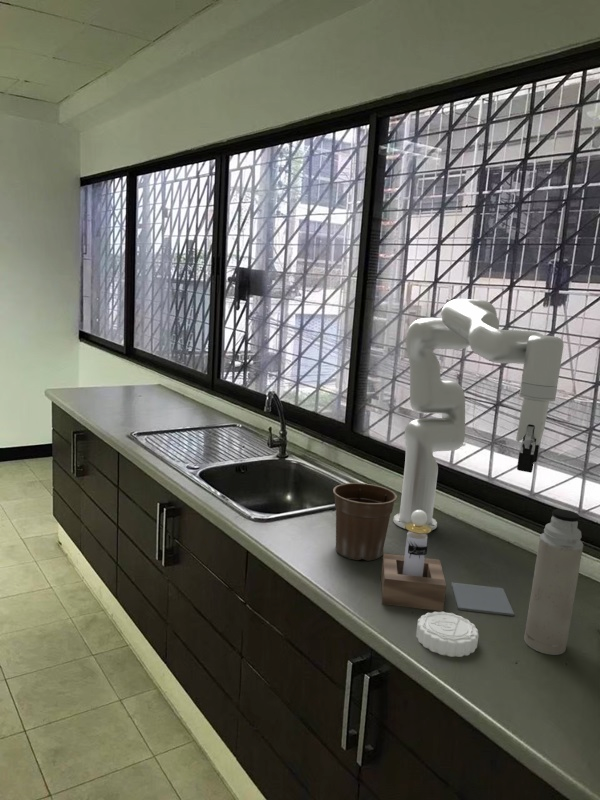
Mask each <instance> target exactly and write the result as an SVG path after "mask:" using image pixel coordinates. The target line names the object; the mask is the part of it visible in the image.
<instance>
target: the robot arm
mask: <svg viewBox="0 0 600 800" xmlns="http://www.w3.org/2000/svg"><path fill="white" fill-rule="evenodd" d="M440 317H441V318H439V317H423V318H417V320H414V321H413V322H412V323H411V324H410V325H409V327H408V329H407V332H406V336H405V337H406V338H405V339H406V340H405V346H406V347H405V348H406V351H407V357H408V362H409V399H410V401H409V403H410V407H411V409H412V410H413V411H414V412H416V413H419V414H441V418H440V417H437V418H436V417H429V418H428V417H425V418H424V417H422V418H416V419H413V420H411V421H409V423H407V425H406V426H405V429H404V447H405V459H404V460H405V461H404V470H403V477H402V478H403V481H402V488H401V497H400V507H399V513H397V514H395V515H394V516H393V522H394V524H395V525H396V526H397V527H399V528H401V529H404V530H406V529H405V524H406V523H408V522H412V521H411V515H412V513H413V512H414V511H415V510H422V511H424V512H425V513H426V514H427V522H426V524H427V525H429V526H430V527H431V532H432V531H433V530H435V529H437V527H438V522H437V520H436V519H435V518H433V516H434V506H435V500H436V499H435V498H436V489H437V481H438V474H439V466H438V462H437V461H436V459H435V457H434V453H436V452H452V451H456V450H459V449H461V448H462V446H463V445H464V442H465V437H466V398H465V397H466V395H465V392H464V390H463V386H461V385H460V384H459V383H458V382H457V381H454V380H442V379H441V364H440V361H439V359H438V357H437V355H436V354H435V352H434V351H433V349H434V350H435V349H436V350H455V351H458V350H462V349H466V348H468V347H470V349H471V350H472V352H473V353H475V354H476V355H478V356H479V357H481V358H483V359H485V360H487V361H489V362H492V363H495V364H518V365H523V369H522V374H521V382H520V388H519V389H520V390H519V397H520V398H523V400H522V405H521V408H520V416H519V421H518V426H517V433H516V439H515V441H516V442H517V443H519V442H520V441H521V445H520V449H519V450H520V451H519V453H518V460H517V465H516V470H517V471H520V472H524V473H532V472H533V470H534V463H536V462H537V461H538V456H539V455H538V454H539V448H540V445H539V444H540V442H541V440H542V439H543V434H544V431H545V426H546V424H547V423H546V422H547V417H548V410H549V406H550V405H549V404H550V402H555V401H556V397H557V392H558V391H557V390H558V384H559V380H560V379H559V378H560V377H559V376H560V370H561V364H562V360H563V359H562V358H563V352H564V341H563V339H562V338H561V337H558V336H553V335H547V334H542V333H540V332H536V331H532V330H531V331H529V330H520V329H519V330H516V329H515V330H513V329H500V322H499V319H498V316H497V311H496V308H495V306H494V305H493V304H492V303H491V302H489V301H487V300H481V299H469V298H455V299H452V300H450V301H448V302H446V303H445V304H444V305H443V306H442V308H441V313H440Z"/></svg>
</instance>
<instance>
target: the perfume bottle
mask: <svg viewBox="0 0 600 800" xmlns="http://www.w3.org/2000/svg"><path fill="white" fill-rule="evenodd" d="M411 521H412V522H408V523H406V524H405V529H404V530H406V531H407V533H406V539H405V549H404V555H403V556H404V565H403V574H402V575H409V576H418V577H423V570H424V562H425V558H426V555H427V554H428V545H427V543H428V534H430V533H431V532H432V531H431V527H430V526H429V525H427V524H426V522H427V514H426V513H425V512H424V511H422V510H415V511H414V512H413V513H412V515H411Z"/></svg>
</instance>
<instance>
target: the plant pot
mask: <svg viewBox="0 0 600 800" xmlns="http://www.w3.org/2000/svg"><path fill="white" fill-rule="evenodd" d="M332 490H333V491H332V493H333V495H334V506H335V549H336V552H337V553H338V554H339V555H341V556H342V557H345V558H346V559H351V560H354V561H360V560H365V561H367V562H370V561H375V560H378V559H379V558H381V557H383V553H384V547H385V542H386V537H387V533H388V527H389V523H390V518H391V514H392V513H393V509H394V506H395V501H396V500H397V499H398V496H397V493H395V492H394V491H393V490H391V489H389V488H387V487H383V486H380V485H376V484H370V483H365V482H348V483H346V482H345V483H340V484H339V485H335V487H333V489H332Z"/></svg>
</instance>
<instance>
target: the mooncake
mask: <svg viewBox="0 0 600 800" xmlns="http://www.w3.org/2000/svg"><path fill="white" fill-rule="evenodd" d="M415 635H416V636H415V637H416V639H417V640H418V641H417V642H418V643H419V644H421V645H422V647H424V648H426V649H429V651H430V652H433V653H437V654H439V655H440V656H447V657H451V658H452V657H453V658H454V657H460V658H462V657H464V656H469V655H470V654H473V653H474V652H475V651H476V649H478V642H479V641H478V640H479V630H478V629H477V628H476V625H475V624H474V623H472V622H471V621H470V620H469V619H468V618H464V617H463V616H461V615H457V614H455V613H453V612H447V611H446V612H445V611H433V612H427V613H425V614H422V615H421V616H420V617H419V618H418V619H417V623H416V634H415ZM470 656H471V655H470Z"/></svg>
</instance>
